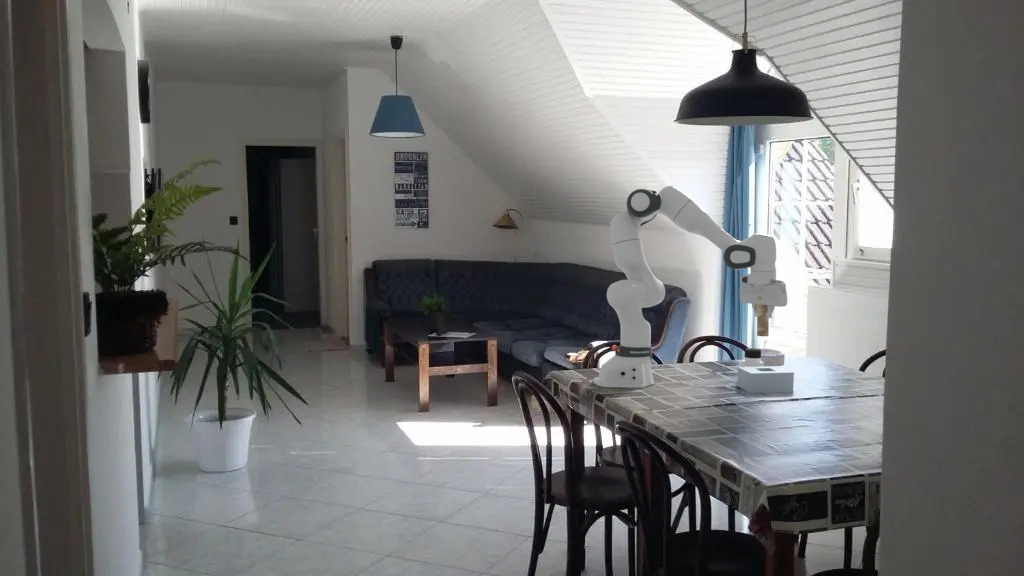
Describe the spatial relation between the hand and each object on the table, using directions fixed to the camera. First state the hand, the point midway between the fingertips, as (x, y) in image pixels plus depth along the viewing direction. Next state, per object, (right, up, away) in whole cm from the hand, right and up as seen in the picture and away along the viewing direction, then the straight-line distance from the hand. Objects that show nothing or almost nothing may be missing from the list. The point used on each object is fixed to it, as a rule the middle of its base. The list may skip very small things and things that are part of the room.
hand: (762, 317), depth 316 cm
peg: (0, -7, +1) cm, 7 cm away
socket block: (+1, -26, +3) cm, 26 cm away
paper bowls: (+11, -23, +36) cm, 44 cm away
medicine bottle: (+1, -25, +19) cm, 31 cm away
